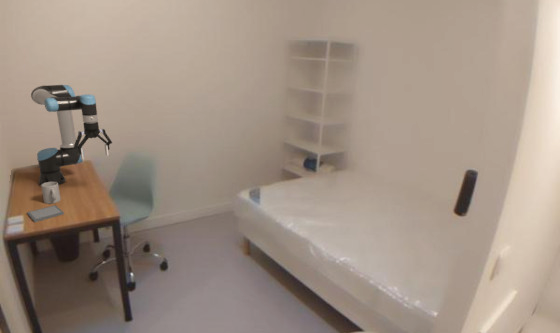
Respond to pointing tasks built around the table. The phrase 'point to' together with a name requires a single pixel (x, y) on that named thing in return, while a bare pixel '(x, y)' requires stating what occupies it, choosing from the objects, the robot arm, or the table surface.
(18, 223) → the table surface
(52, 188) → the mug
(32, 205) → the table surface
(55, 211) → the coaster
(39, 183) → the robot arm
